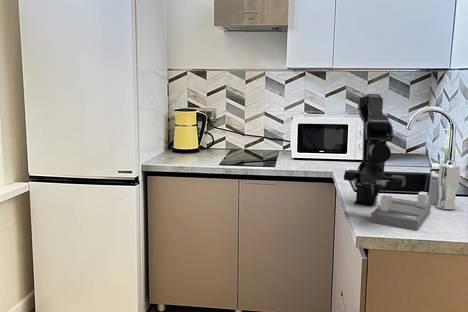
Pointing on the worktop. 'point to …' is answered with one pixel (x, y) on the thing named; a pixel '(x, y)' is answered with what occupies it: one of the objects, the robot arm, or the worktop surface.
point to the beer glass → (448, 186)
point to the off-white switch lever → (386, 203)
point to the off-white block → (422, 199)
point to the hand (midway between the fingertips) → (372, 203)
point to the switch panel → (402, 214)
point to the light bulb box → (433, 188)
